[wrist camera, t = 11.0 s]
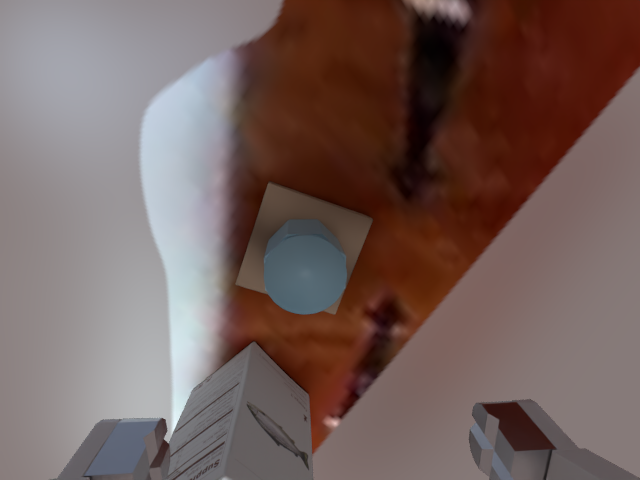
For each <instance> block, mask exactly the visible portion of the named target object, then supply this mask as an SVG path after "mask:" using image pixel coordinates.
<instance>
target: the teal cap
mask: <svg viewBox="0 0 640 480" xmlns="http://www.w3.org/2000/svg"><path fill="white" fill-rule="evenodd" d="M346 280H347V269H346V255H345V253H344V251H343V249H342V247H341V245H340V243H339V241H338V239H337V238H336V237H335V236H334V235H333V234H332V233H331V232H330V231H329V230H328V229H327V228H326V227H325V226H324V225H323V224H322V223H321V222H320V221H319V220H318V219H289V220H288V221H287V222H286V223H285V224H284V225H283V226H282V227H281V228H280V229H279V230H278V231H277V232H276V233H275V234H274V235H273V236H272V237H271V238H270V239H269V241H268V244H267V248H266V252H265V255H264V283H265V291H267V292H268V294H269V296H270V297H271V298H272V300H273V301H274V302H275V303H276V304H277V305H279V306H280V307H281V308H283V309H285V310H287V311H289V312H292V313H296V314H313V313H317V312H320V311H323V310H325V309H327V308H328V307H330V306H331V305H332V304H334V303H335V302H336V301H337V299H338V298H339V297H340V295H341V294H342V292H343V290H344V289H345V285H346Z"/></svg>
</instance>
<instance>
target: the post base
mask: <svg viewBox="0 0 640 480" xmlns="http://www.w3.org/2000/svg"><path fill="white" fill-rule="evenodd" d="M289 219H318V220H319V221H320V222H321V223H322V224H323V225H324V226H325V227H326V228H327V229H328V230H329V231H330V232H331V233H332V234H333V235H334V236H335V237H336V238H337V239H338V241H339V243H340V245H341V247H342V249H343V251H344V253H345V255H346V269H347V280H346V285H345V288H346V286H347V283H348V281H349V278H350V276H351V274H352V271H353V269H354V266H355V264H356V261H357V259H358V256H359V254H360V251H361V249H362V246H363V244H364V241H365V239H366V236H367V234H368V231H369V229H370V226H371V224H372V221H373V219H372V218H371V217H369V216H367V215H364V214H361V213H358V212H355V211H352V210H350V209H347V208H344V207H341V206H338V205H335V204H333V203H330V202H327V201H324V200H321V199H318V198H316V197H313V196H310V195H307V194H304V193H301V192H299V191H296V190H293V189H290V188H287V187H284V186H282V185H279V184H276V183H273V182H270V181H269V183H268V185H267V188H266V191H265V195H264V198H263V201H262V204H261V207H260V210H259V213H258V216H257V219H256V222H255V225H254V228H253V232H252V235H251V238H250V241H249V244H248V247H247V250H246V253H245V256H244V259H243V262H242V265H241V269H240V272H239V275H238V278H237V281H236V284H235V285H238V286H242V287H245V288H248V289H252V290H255V291H258V292H262V293H265V294H268V292H267V291H265V283H264V255H265V252H266V248H267V244H268V241H269V239H270V238H271V237H272V236H273V235H274V234H275V233H276V232H277V231H278V230H279V229H280V228H281V227H282V226H283V225H284V224H285V223H286V222H287V221H288V220H289ZM344 291H345V289H344V290H343V292H342V294H341V295H340V297H339V298H338V299H337V301H336V302H335V303H334V304H332V305H331V306H330V307H328V308H327V309H325V310H323V311H325V312H328V313H331V314H335V313H336V311H337V308H338V306H339V303H340V301H341V298H342V296H343V293H344ZM268 295H269V294H268Z"/></svg>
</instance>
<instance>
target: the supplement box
mask: <svg viewBox="0 0 640 480" xmlns="http://www.w3.org/2000/svg"><path fill="white" fill-rule="evenodd" d="M169 445H170V452H171V455H170V467H169V472H168V477H167V479H166V480H313V464H312V443H311V422H310V404H309V395H308V394H307V393H306V392H305V391H304V390H303V389H302V388H300V387H299V386H298V385H297V384H296V383H295V382H294V381H293V380H292V379H291V378H290V377H289V376H288V375H287V374H286V373H285V372H284V371H283V370H282V369H281V368H280V367H279V366H278V365H277V364H276V363H275V362H274V361H273V360H272V359H271V358H270V357H269V356H268V355H267V354H266V353H265V352H264V351H263V350H262V349H261V348H260V347H259V346H258V345H257V343H256V342H252V343H251V344H250V345H249V346H247V347H246V348H245V349H243V350H242V351H241V352H240V353H239V354H237V355H236V356H235V357H233V358H232V359H231V360H230V361H229V362H227V363H226V364H225V365H223V366H222V367H221V368H220V369H218V370H217V371H216V372H215V373H213V374H212V375H211V376H209V377H208V378H207V379H206V380H204V381H203V382H202V383H201V384H200V385H198V386H197V387H196V388H195V389H193V390H192V392H191V394H190V397H189V399H188V401H187V403H186V406H185V408H184V410H183V412H182V414H181V416H180V418H179V421H178V423H177V425H176V428H175V430H174V432H173V434H172V437H171V439H170V441H169Z"/></svg>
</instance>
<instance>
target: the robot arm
mask: <svg viewBox="0 0 640 480" xmlns="http://www.w3.org/2000/svg"><path fill="white" fill-rule="evenodd" d="M472 416H473V417H474V419H475V421H476V423H475V424H474V425H473V426H472V427H471V429H470V434H469V443H470V449H471V453H472V456H473V458H474V461H475V463H476V464H477V466H478V468H479V469H480V470H481V471H483V472H484V473H485V474H486V475H488V476H489V477H490V478H489V480H640V478H639V477H637V476H635V475H633V474H631V473H629V472H628V471H626V470H624V469H622V468H620V467H618V466H617V465H615V464H613V463H611V462H609V461H607V460H606V459H604V458H602V457H600V456H598V455H596V454H594V453H592V452H591V451H589V450H587V449H579V448H578V447H577V446H576V445H575V443H574V442H572V440H571V439H570V438H569V437H568V436H567V435H566V434H565V433H564V432H563V431H562V430H561V429H560V427H559V426H558V425H557V424H556V423H555V422H554V421H553V420H552V419H551V418H550V417H549V416H548V415H547V413H546V412H545V411H544V410H543V409H542V408H541V407H540V406H539V405H538V404H537V403H536V402H535V401H533V400H531V399H527V400H513V401H501V402H482V403H476V404H475V405H474V407H473V412H472ZM166 433H167V426H166V420H165V419H163V418H136V419H135V418H134V419H110V420H101V421H100V422H98V423H97V424H96V425H95V426H94V428H93V429H92V431H91V432H90V433H89V435H88V436H87V437H86V439H85V440H84V442H83V443H82V444H81V446H80V447H79V449H78V450H77V451H76V453H75V454H74V456H73V457H72V458H71V460H70V461H69V463H68V464H67V465H66V467H65V468H64V469H63V471H62V472H61V474H60V475H59V476H58V478H57V479H50V480H166V479H167V477H168V472H169V467H170V455H171V452H170V445H169V444H168V443H167V442H166V441H165V440H164V437H165V435H166Z"/></svg>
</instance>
